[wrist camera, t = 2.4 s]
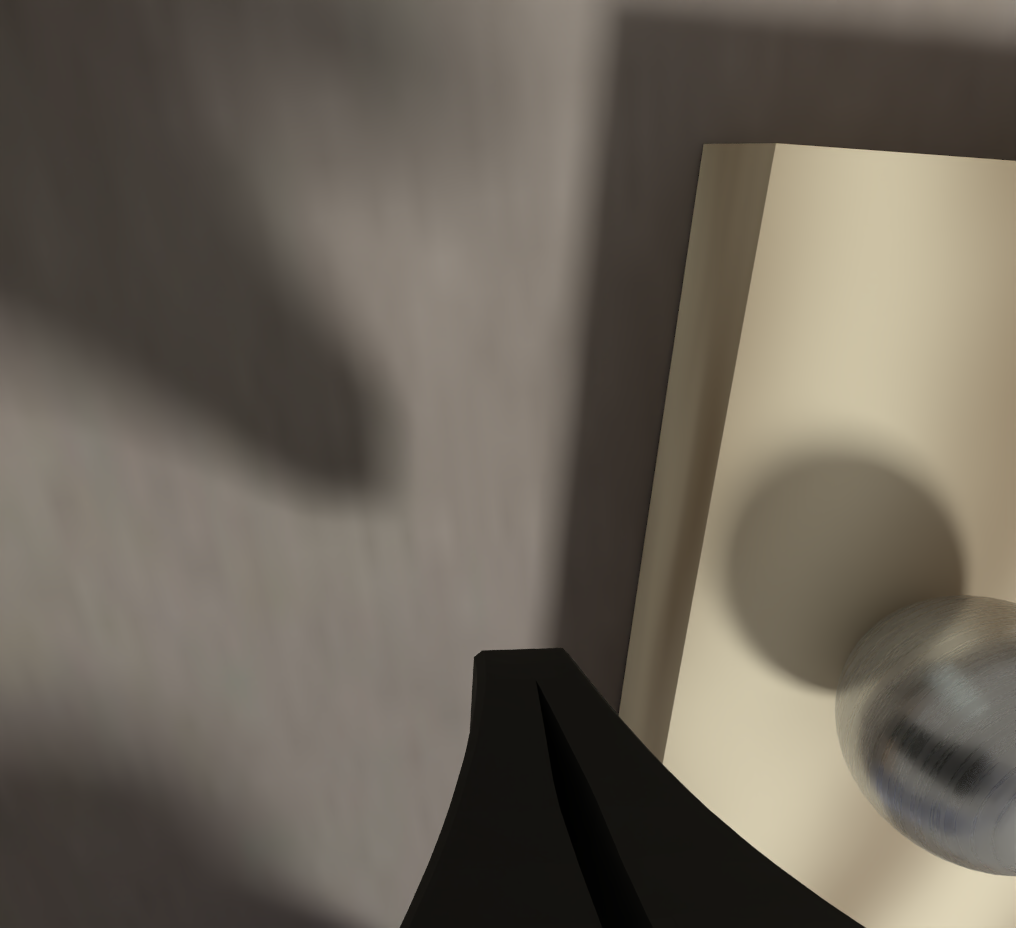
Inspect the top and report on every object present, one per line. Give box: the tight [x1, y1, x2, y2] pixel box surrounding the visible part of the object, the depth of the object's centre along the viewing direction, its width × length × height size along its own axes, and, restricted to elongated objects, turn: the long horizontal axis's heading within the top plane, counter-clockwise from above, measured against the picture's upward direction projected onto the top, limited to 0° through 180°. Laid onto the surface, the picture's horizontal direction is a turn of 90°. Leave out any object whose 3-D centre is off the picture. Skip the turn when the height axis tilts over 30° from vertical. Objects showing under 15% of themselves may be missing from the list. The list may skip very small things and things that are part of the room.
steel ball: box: [835, 595, 1016, 876], centre depth 11 cm, size 4×4×4 cm
